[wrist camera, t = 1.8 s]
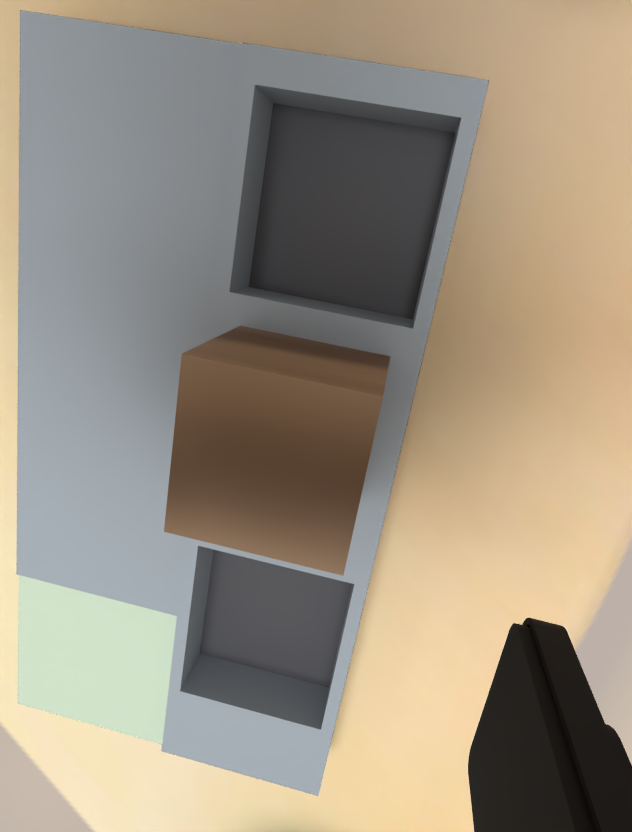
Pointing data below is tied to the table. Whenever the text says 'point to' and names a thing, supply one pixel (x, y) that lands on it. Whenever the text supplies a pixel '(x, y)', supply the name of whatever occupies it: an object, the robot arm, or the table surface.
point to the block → (273, 445)
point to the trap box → (190, 327)
